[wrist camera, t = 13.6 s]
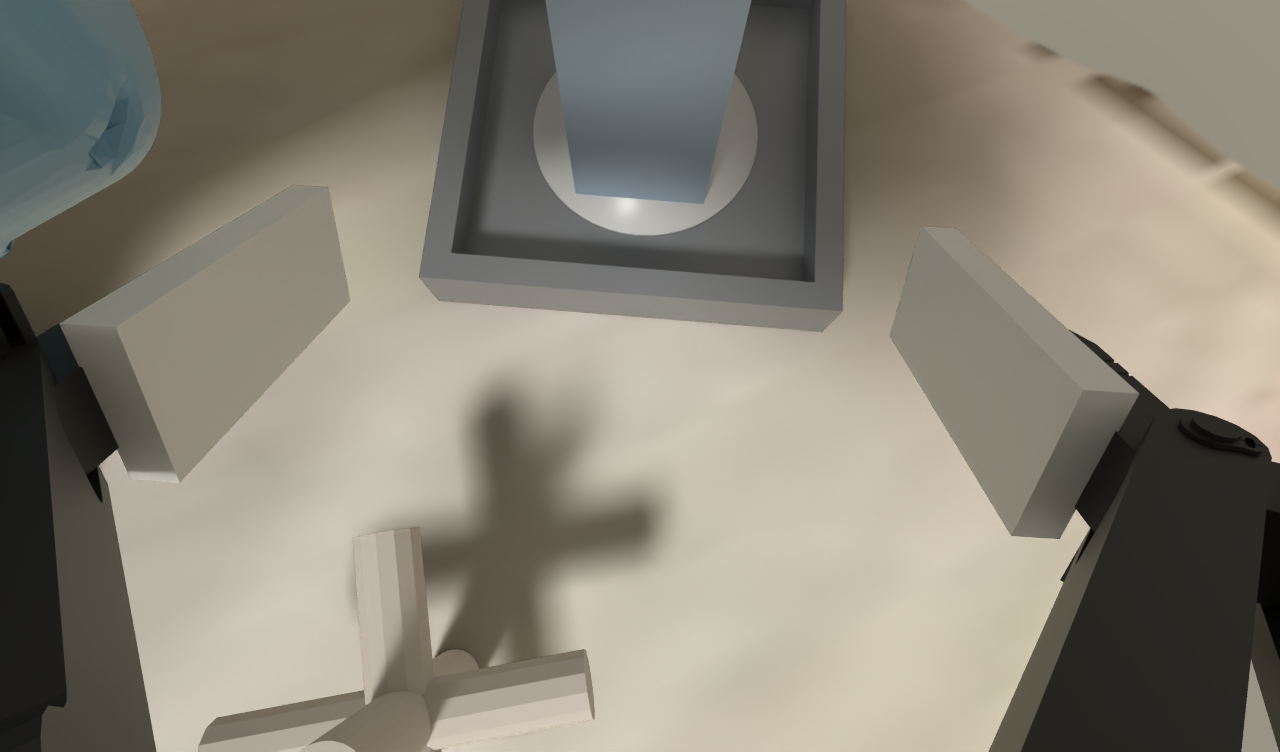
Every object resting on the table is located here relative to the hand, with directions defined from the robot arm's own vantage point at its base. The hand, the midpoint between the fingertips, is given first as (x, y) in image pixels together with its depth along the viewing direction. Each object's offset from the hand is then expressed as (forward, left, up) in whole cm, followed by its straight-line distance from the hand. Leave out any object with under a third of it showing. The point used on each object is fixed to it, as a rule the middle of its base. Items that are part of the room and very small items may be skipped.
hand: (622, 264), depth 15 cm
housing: (0, +10, -10) cm, 14 cm away
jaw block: (0, +10, -9) cm, 14 cm away
